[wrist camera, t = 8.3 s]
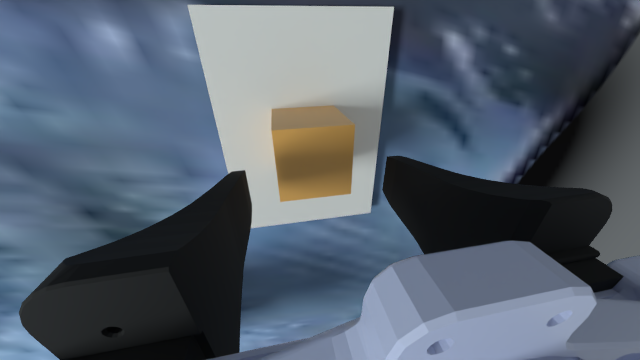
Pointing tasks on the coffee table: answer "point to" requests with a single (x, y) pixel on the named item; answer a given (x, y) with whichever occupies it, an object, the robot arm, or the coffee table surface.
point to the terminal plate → (294, 90)
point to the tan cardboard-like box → (312, 152)
